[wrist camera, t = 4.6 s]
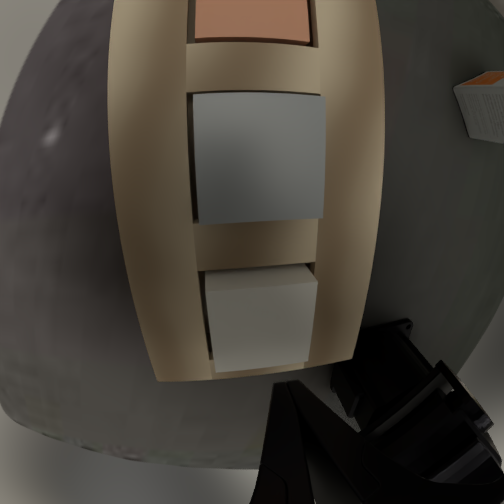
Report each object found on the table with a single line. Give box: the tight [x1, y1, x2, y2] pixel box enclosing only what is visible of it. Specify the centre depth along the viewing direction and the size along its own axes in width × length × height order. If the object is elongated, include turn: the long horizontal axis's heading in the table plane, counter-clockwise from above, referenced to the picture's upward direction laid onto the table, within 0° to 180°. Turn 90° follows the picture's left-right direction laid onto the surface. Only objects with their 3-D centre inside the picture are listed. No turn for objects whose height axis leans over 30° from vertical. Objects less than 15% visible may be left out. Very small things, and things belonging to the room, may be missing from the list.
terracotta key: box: [195, 0, 310, 46], centre depth 9 cm, size 4×4×2 cm
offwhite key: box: [205, 263, 318, 373], centre depth 13 cm, size 4×4×2 cm
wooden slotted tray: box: [108, 0, 385, 382], centre depth 12 cm, size 11×22×4 cm, turn 1°
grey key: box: [193, 92, 326, 225], centre depth 10 cm, size 4×4×2 cm
